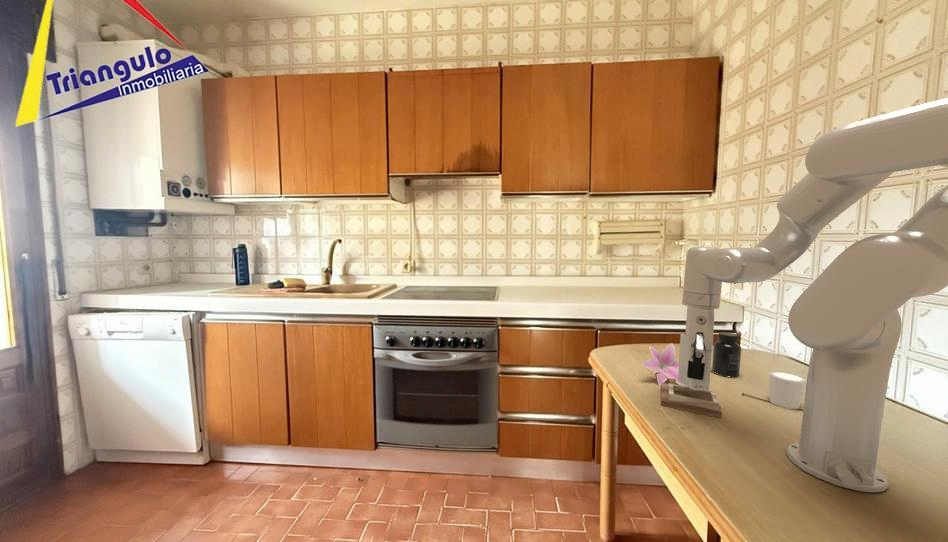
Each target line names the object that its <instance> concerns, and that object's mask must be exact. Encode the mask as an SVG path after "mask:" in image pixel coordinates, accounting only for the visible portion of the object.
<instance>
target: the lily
mask: <svg viewBox="0 0 948 542" xmlns="http://www.w3.org/2000/svg"><path fill="white" fill-rule="evenodd" d="M648 348H649V351H650V355H651V356H652V357H651V358H649V359H647V360H645V361H643V362H642V363H641V366H642V367H643V368H646V369H647V370H651V371H652V372H655V373H654V376H655V375H656V380H657V385H658V386H660V387H661V384H662V383H666V381H667V380H668V379H669V380H670V378H673V379H676V385H682V386H686V385H685V384H683V383H682V382H680V381H679V380H678V372H679V359H677V353H676V348H675V345H674V344H673V342H671V343H669V344H668V345H667V346H666V347H665V348H664V349H663V350H662V351H660V350H659V349H656V348H655V347H653V346H651V345H649V346H648Z"/></svg>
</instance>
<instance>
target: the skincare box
mask: <svg viewBox="0 0 948 542" xmlns="http://www.w3.org/2000/svg"><path fill="white" fill-rule="evenodd" d="M679 337H680V338H679V357H678V361H679V372H678V380H679V381H680V382H682V383H683V384H685V386H687V387H689V388H690V389H692V390H701V391H708V390H709V391H710V381H711V380H710V379H711V369H712V364H711V363H712V354H713V352H712V351H713V350H712V351H711V352H708V350H706V347H705V360H704V363H705V368H704V378H703V380H698V379H692V378H688V377H687V371H688V360H690V349H689V348H688V347H687V341H686V332H684V333H683V332H682V333H680V335H679ZM693 348H696V340H695V343H694V345H693ZM694 352H696V351H693V353H694Z"/></svg>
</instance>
